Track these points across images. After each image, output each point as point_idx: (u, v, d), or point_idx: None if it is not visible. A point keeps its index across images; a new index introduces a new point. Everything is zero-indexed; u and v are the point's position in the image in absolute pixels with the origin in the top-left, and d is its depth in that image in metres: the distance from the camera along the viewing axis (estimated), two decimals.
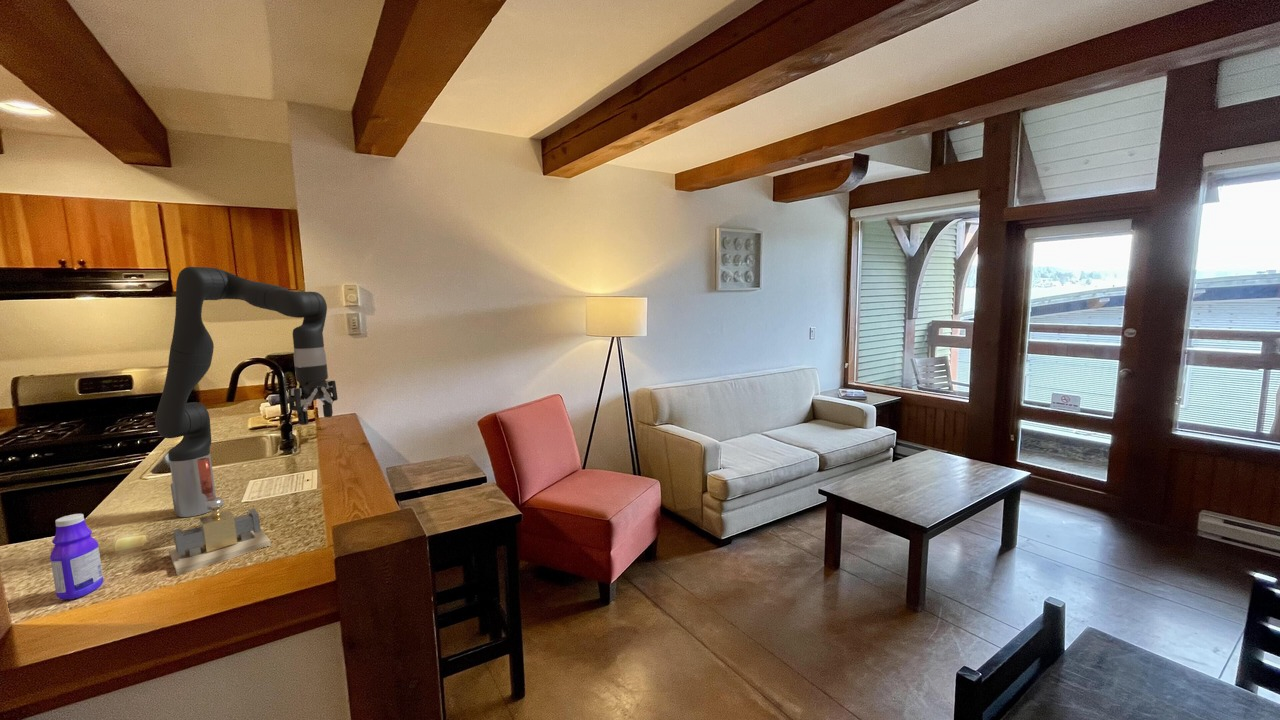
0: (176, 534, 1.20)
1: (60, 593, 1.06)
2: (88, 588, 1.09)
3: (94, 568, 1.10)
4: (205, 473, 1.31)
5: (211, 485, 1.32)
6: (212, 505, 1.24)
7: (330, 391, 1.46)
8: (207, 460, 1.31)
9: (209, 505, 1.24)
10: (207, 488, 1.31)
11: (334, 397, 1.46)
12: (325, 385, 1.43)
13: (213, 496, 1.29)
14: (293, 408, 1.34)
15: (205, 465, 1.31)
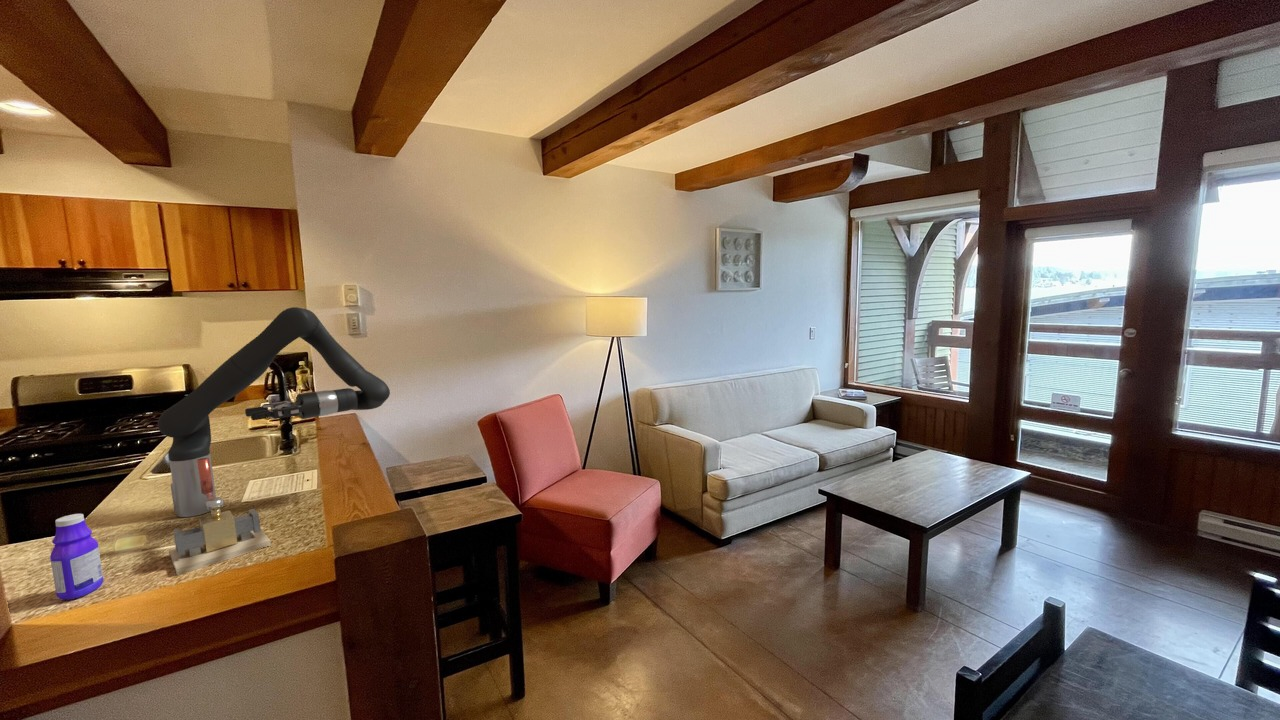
0: (176, 534, 1.20)
1: (60, 593, 1.06)
2: (88, 588, 1.09)
3: (94, 568, 1.10)
4: (205, 473, 1.31)
5: (211, 485, 1.32)
6: (212, 505, 1.24)
7: None
8: (207, 460, 1.31)
9: (209, 505, 1.24)
10: (207, 488, 1.31)
11: None
12: None
13: (213, 496, 1.29)
14: (276, 414, 1.37)
15: (205, 465, 1.31)
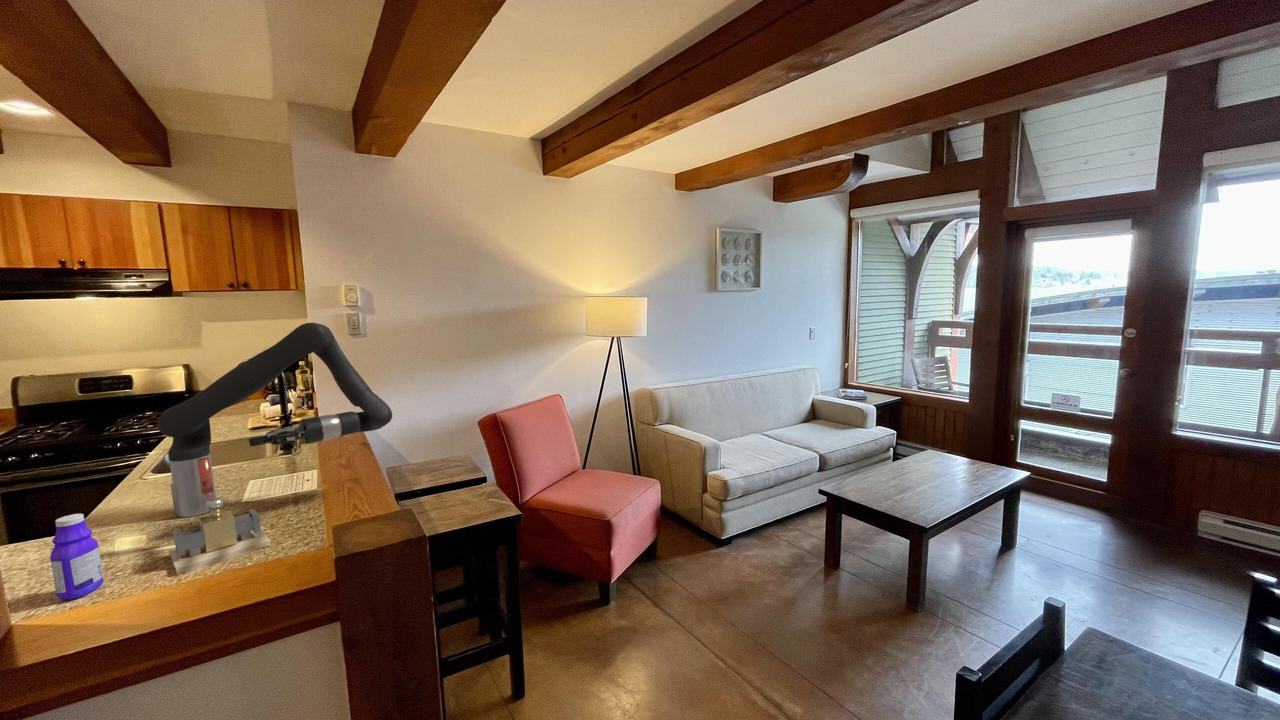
0: (176, 534, 1.20)
1: (60, 593, 1.06)
2: (88, 588, 1.09)
3: (94, 568, 1.10)
4: (205, 473, 1.31)
5: (211, 485, 1.32)
6: (212, 505, 1.24)
7: None
8: (207, 460, 1.31)
9: (209, 505, 1.24)
10: (207, 488, 1.31)
11: None
12: None
13: (213, 496, 1.29)
14: (272, 440, 1.40)
15: (205, 465, 1.31)
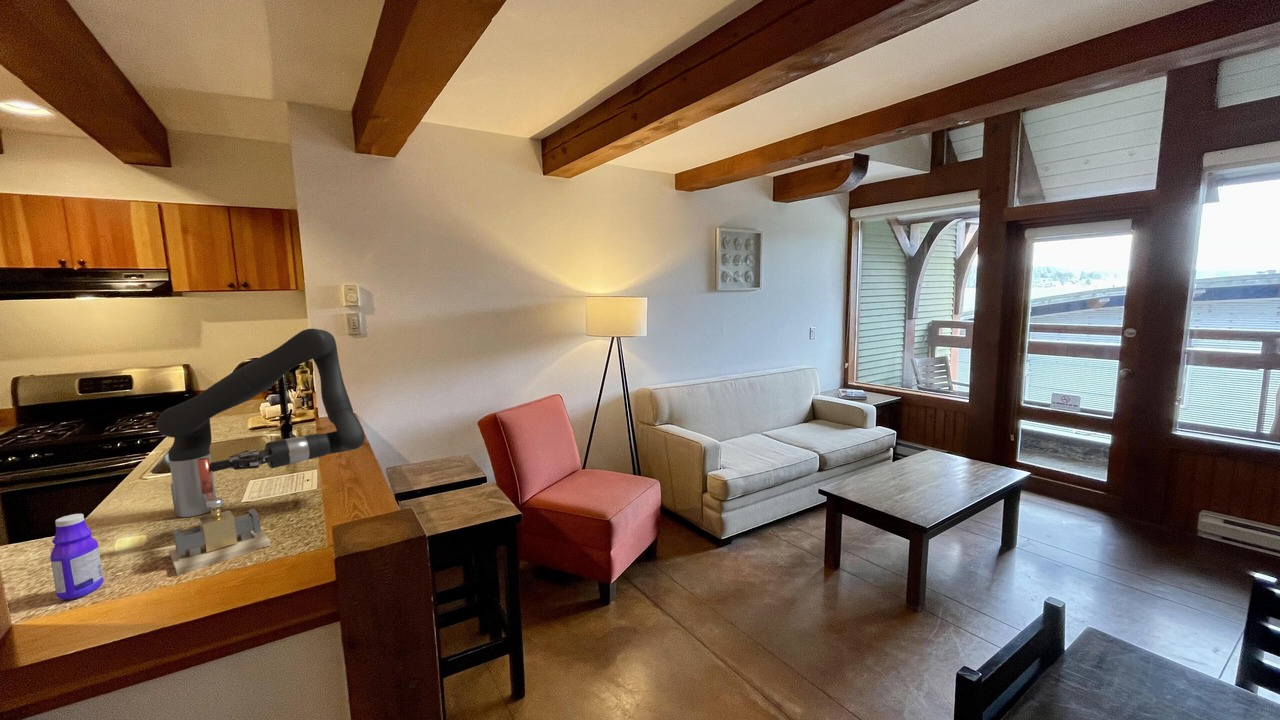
0: (176, 534, 1.20)
1: (60, 593, 1.06)
2: (88, 588, 1.09)
3: (94, 568, 1.10)
4: (205, 473, 1.31)
5: (211, 485, 1.32)
6: (212, 505, 1.24)
7: None
8: (207, 460, 1.31)
9: (209, 505, 1.24)
10: (207, 488, 1.31)
11: None
12: None
13: (213, 496, 1.29)
14: (235, 465, 1.34)
15: (205, 465, 1.31)
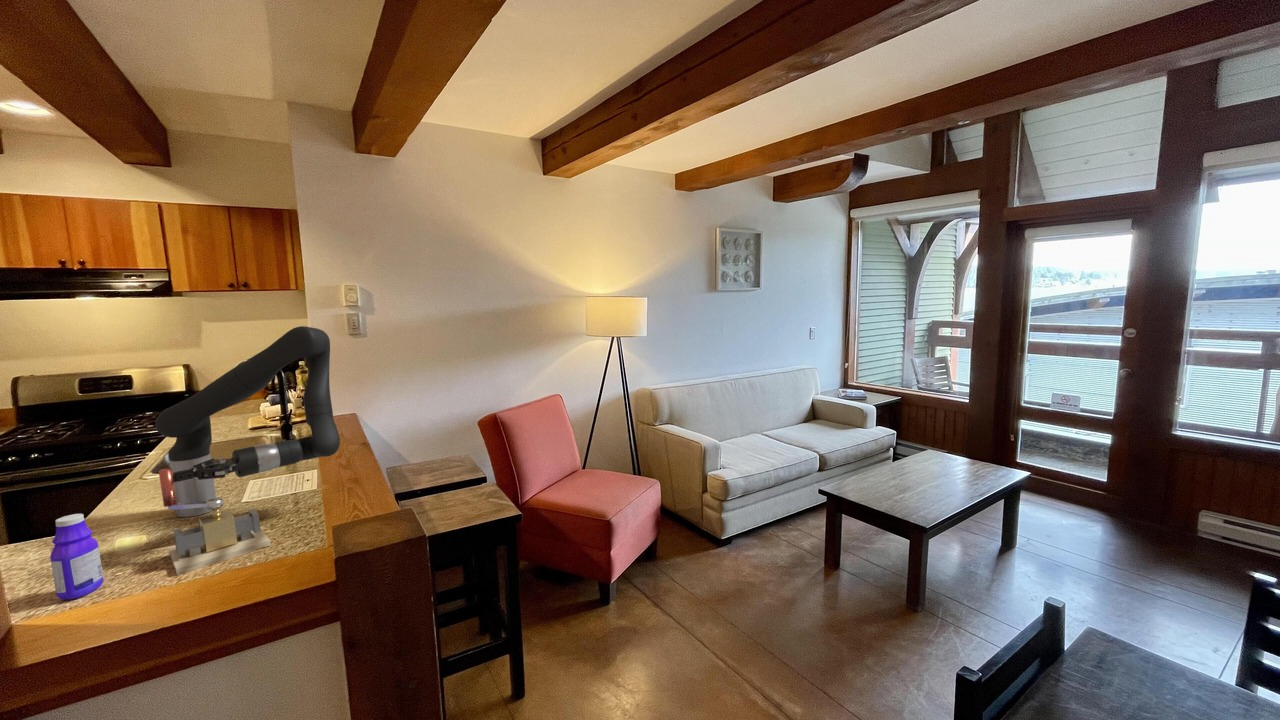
0: (176, 534, 1.20)
1: (60, 593, 1.06)
2: (88, 588, 1.09)
3: (94, 568, 1.10)
4: (172, 483, 1.24)
5: (175, 496, 1.25)
6: (219, 503, 1.25)
7: None
8: None
9: (216, 504, 1.25)
10: (174, 499, 1.24)
11: None
12: None
13: (195, 502, 1.26)
14: (199, 474, 1.27)
15: (171, 475, 1.24)
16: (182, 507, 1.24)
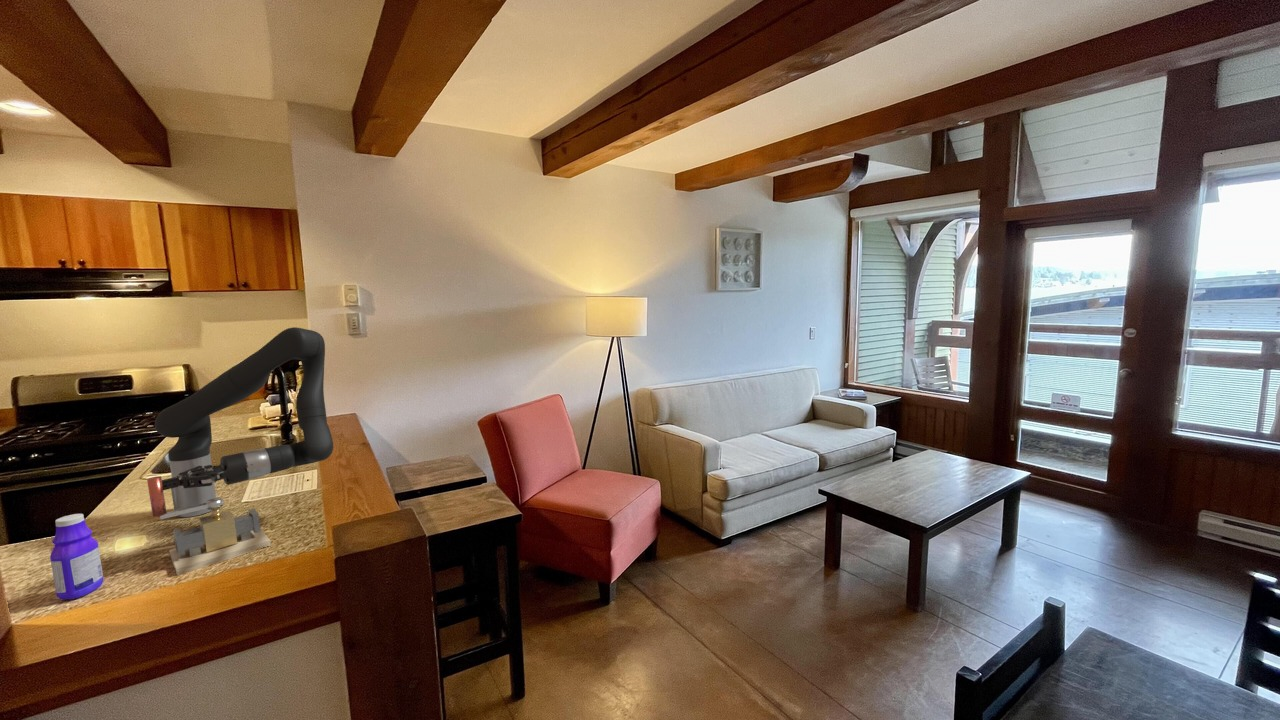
0: (176, 534, 1.20)
1: (60, 593, 1.06)
2: (88, 588, 1.09)
3: (94, 568, 1.10)
4: None
5: None
6: (222, 502, 1.26)
7: None
8: None
9: (221, 502, 1.26)
10: (165, 507, 1.19)
11: None
12: None
13: (189, 507, 1.23)
14: (184, 483, 1.21)
15: (161, 482, 1.19)
16: (178, 513, 1.21)
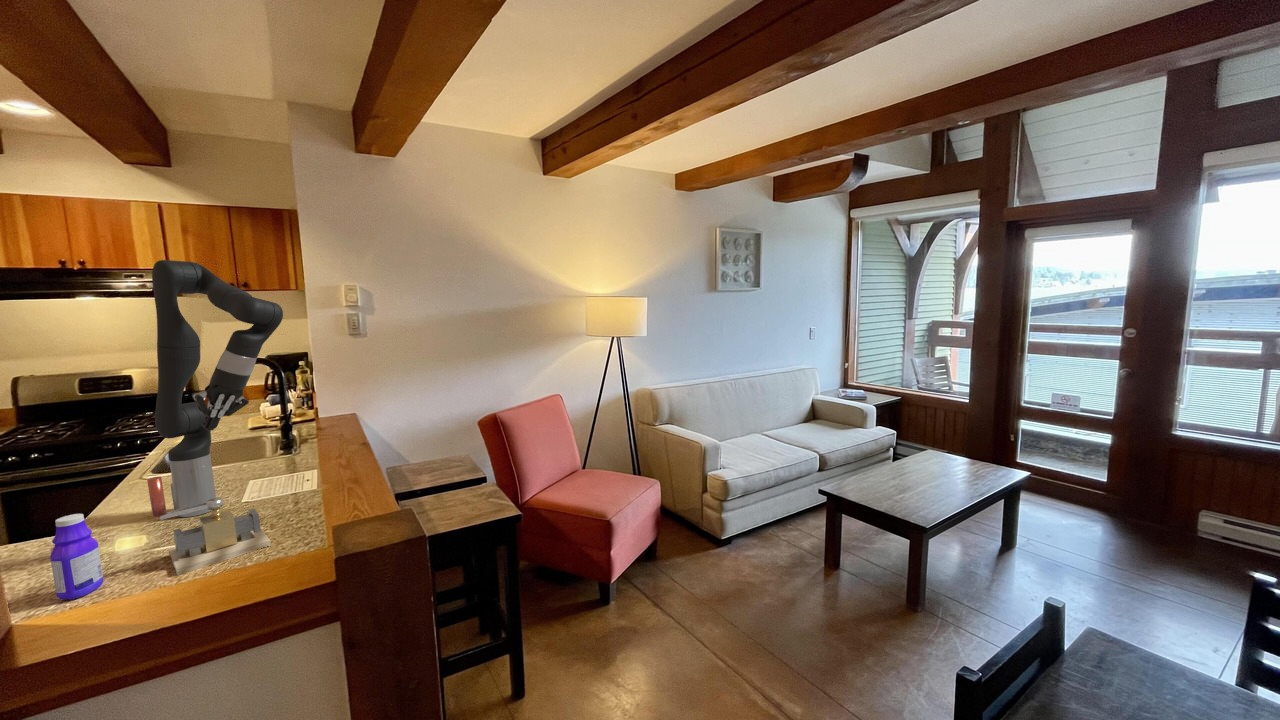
0: (176, 534, 1.20)
1: (60, 593, 1.06)
2: (88, 588, 1.09)
3: (94, 568, 1.10)
4: None
5: None
6: (222, 502, 1.26)
7: (234, 405, 1.36)
8: None
9: (221, 502, 1.26)
10: (165, 508, 1.19)
11: (227, 412, 1.34)
12: (239, 395, 1.35)
13: (189, 507, 1.23)
14: (201, 411, 1.30)
15: (161, 482, 1.19)
16: (178, 514, 1.20)
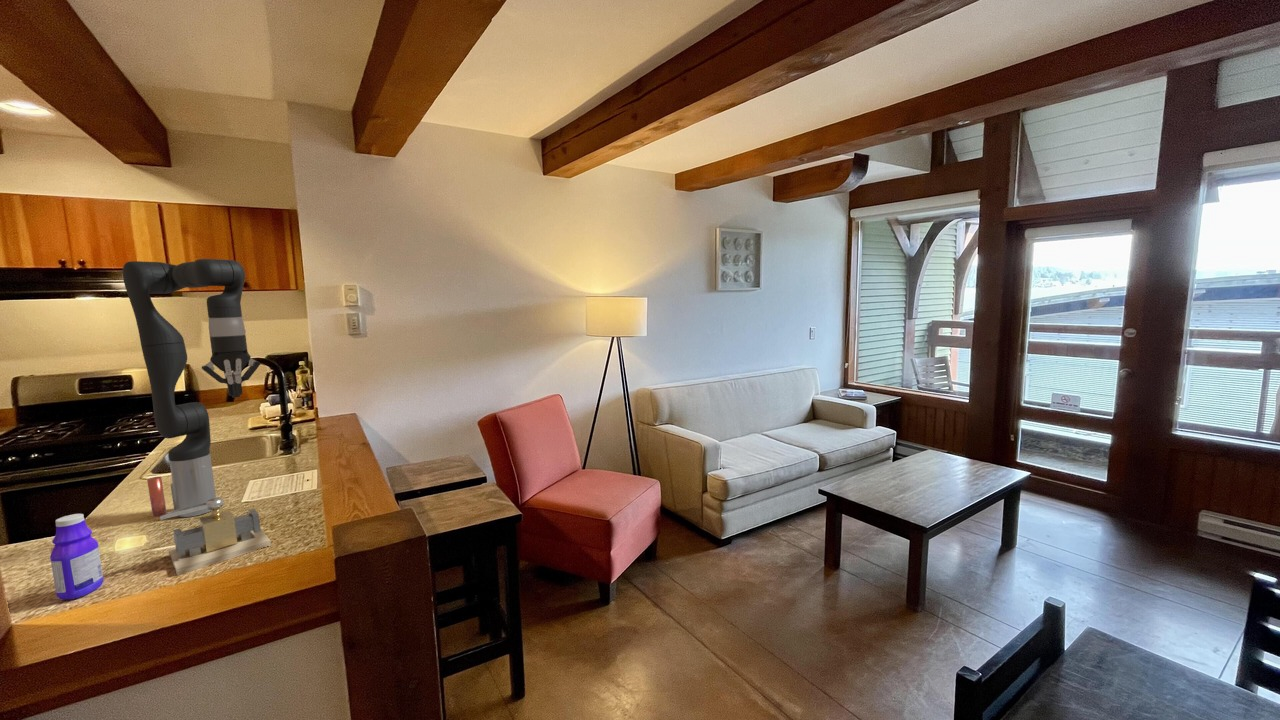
0: (176, 534, 1.20)
1: (60, 593, 1.06)
2: (88, 588, 1.09)
3: (94, 568, 1.10)
4: None
5: None
6: (222, 502, 1.26)
7: (248, 369, 1.39)
8: None
9: (221, 502, 1.26)
10: (165, 508, 1.19)
11: (244, 376, 1.38)
12: (246, 358, 1.38)
13: (189, 507, 1.23)
14: (219, 381, 1.35)
15: (161, 482, 1.19)
16: (178, 514, 1.20)
